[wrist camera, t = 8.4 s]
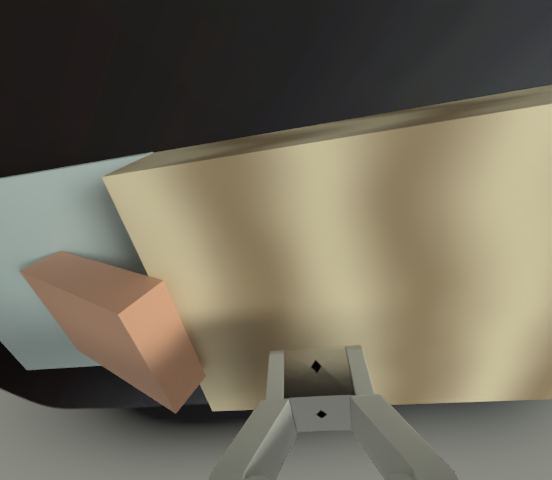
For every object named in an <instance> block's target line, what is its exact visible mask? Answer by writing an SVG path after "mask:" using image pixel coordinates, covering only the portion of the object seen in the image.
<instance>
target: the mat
mask: <svg viewBox="0 0 552 480" xmlns="http://www.w3.org/2000/svg"><path fill="white" fill-rule="evenodd" d="M152 153H153V152H149V153H143V154H138V155H132V156H126V157H120V158H114V159H108V160H103V161H97V162H91V163H85V164H79V165H73V166H67V167H62V168H56V169H50V170H44V171H38V172H32V173H27V174H21V175H15V176H9V177H3V178H0V341H1V342H2V344H3V345H4V346H5V347H6V348H7V349H8V350H9V351H10V352H11V353H12V354H13V356H14V357H15V358H16V359H17V360H18V361H19V362H20V363H21V364H22V365H23V367H24V368H25V369H26V370H38V369H54V368H70V367H86V366H101V365H100V364H98V363H97V362H95V361H94V360H92V359H91V358H89V357H87V356H86V355H84V354H83V353H81V352H80V351H78V350H77V348H76V347H75V346H74V344H73V343H72V342H71V340H70V339H69V338H68V336H67V335H66V334H65V332H64V331H63V329H62V328H61V327H60V325H59V324H58V323H57V321H56V320H55V319H54V317H53V316H52V315H51V313H50V312H49V311H48V309H47V308H46V306H45V305H44V304H43V302H42V301H41V300H40V298H39V297H38V296H37V294H36V293H35V292H34V290H33V289H32V287H31V286H30V285H29V283H28V282H27V281H26V279H25V278H24V277H23V275H22V274H21V273H20V270H22V269H24V268H26V267H28V266H30V265H32V264H34V263H36V262H38V261H40V260H42V259H44V258H46V257H48V256H51V255H53V254H55V253H57V252H59V251H63V252H66V253H70V254H73V255H77V256H80V257H84V258H87V259H91V260H94V261H98V262H101V263H104V264H108V265H111V266H115V267H118V268H122V269H125V270H129V271H132V272H136V273H139V274H142V275H146V276H148V274H147V272H146V270H145V268H144V266H143V263H142V261H141V259H140V257H139V255H138V253H137V251H136V249H135V247H134V244H133V242H132V240H131V238H130V236H129V234H128V232H127V230H126V228H125V225H124V223H123V221H122V219H121V217H120V215H119V213H118V211H117V209H116V206H115V204H114V202H113V200H112V198H111V196H110V194H109V192H108V190H107V187H106V185H105V183H104V181H103V179H102V176H105V175H107V174H109V173H111V172H113V171H115V170H117V169H120V168H122V167H124V166H126V165H128V164H130V163H133V162H135V161H137V160H139V159H141V158H143V157H145V156H148V155H150V154H152Z"/></svg>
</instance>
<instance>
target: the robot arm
mask: <svg viewBox="0 0 552 480" xmlns="http://www.w3.org/2000/svg"><path fill="white" fill-rule="evenodd" d="M323 430H324V431H326V430H328V431H330V430H352V433H353V434H354V436H355V437H356V439H357V440H358V441H359V443H360V444H361V446H362V447H363V449H364V450H365V451H366V453H367V454H368V456H369V457H370V459H371V460H372V462H373V463H374V465H375V466H376V468H377V469H378V470H379V472H380V473H381V475H382V476H383V478H384V479H385V480H458V479H457V476H456V474H455V471H454V470H453V469H452V468H451V467H450V466H449V465H448V464H447V463H446V462H445V461H444V460H443V459H442V458H441V457H440V456H439V455H438V454H437V453H436V452H435V451H434V450H433V449H432V448H431V446H430V445H429V444H428V443H426V441H425V440H424V439H423V438H422V437H421V436H420V435H419V434H418V433H417V432H416V431H415V430H414V429H413V428H412V427H411V426H410V425H409V424H408V423H407V422H406V421H405V420H404V419H403V417H401V415H400V414H398V412H397V411H396V410H395V409H394V408H393V407H392V406H391V405H390V404H389V403H388V402H387V401H386V400H385V399H384V398H383V397H382V396H381V395H380V394H375V392H374V388H373V385H372V381H371V377H370V374H369V370H368V366H367V363H366V359H365V355H364V352H363V348H362V346H361V345H351V346H334V347H322V348H315V349H298V350H277V351H270V354H269V362H268V374H267V387H266V400H261V401H260V402H259V404H258V405H257V407H256V408H255V410H254V411H253V413H252V414H251V415H250V417H249V418H248V420H247V421H246V423H245V424H244V426H243V427H242V429H241V430H240V432H239V433H238V435H237V436H236V437H235V439H234V440H233V442H232V443H231V445H230V446H229V447H228V449H227V451H226V452H225V453H224V455H223V456H222V458H221V459H220V460H219V462H218V463H217V465H216V466H215V468H214V469H213V471H212V472H211V474H210V476H209V480H276V479H277V476H278V474H279V472H280V470H281V468H282V466H283V464H284V461H285V459H286V457H287V455H288V453H289V450H290V448H291V446H292V444H293V442H294V440H295V438H296V435H297V432H309V431H323Z"/></svg>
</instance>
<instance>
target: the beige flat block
mask: <svg viewBox="0 0 552 480" xmlns="http://www.w3.org/2000/svg"><path fill="white" fill-rule="evenodd" d="M102 179H103V181H104V183H105V185H106V187H107V190H108V192H109V194H110V196H111V198H112V200H113V202H114V204H115V206H116V209H117V211H118V213H119V215H120V217H121V219H122V221H123V223H124V225H125V228H126V230H127V232H128V234H129V236H130V238H131V240H132V242H133V244H134V247H135V249H136V251H137V253H138V255H139V257H140V259H141V261H142V263H143V266H144V268H145V270H146V272H147V274H148V276H149V277H153V278H156V279H160V280H163V281H164V283H165V285H166V288H167V290H168V292H169V294H170V297H171V299H172V301H173V303H174V306H175V308H176V310H177V312H178V315H179V317H180V319H181V321H182V324H183V326H184V328H185V330H186V332H187V335H188V337H189V339H190V341H191V344H192V346H193V348H194V350H195V353H196V355H197V357H198V359H199V362H200V364H201V366H202V368H203V371H204V373H205V375H206V377H205V378H204V379H203V380H202V382H201V383H200V386H201V388H202V390H203V392H204V394H205V396H206V398H207V401H208V403H209V405H210V407H211V409H212V411H231V410H255V408H256V407H257V405H258V404H259V402H260V401H261V400H266V387H267V374H268V362H269V354H270V351H277V350H298V349H315V348H322V347H334V346H351V345H361V346H362V348H363V352H364V355H365V359H366V363H367V366H368V370H369V374H370V377H371V381H372V385H373V388H374V392H375V394H380V395H381V396H382V397H383V398H384V399H385V400H386V401H387V402H388V403H389V404H390V405H397V404H426V403H452V402H453V403H454V402H482V401H509V400H535V399H552V85H548V86H542V87H536V88H530V89H524V90H518V91H512V92H507V93H501V94H495V95H489V96H483V97H477V98H471V99H466V100H460V101H454V102H448V103H442V104H436V105H430V106H425V107H419V108H413V109H407V110H401V111H395V112H389V113H384V114H378V115H372V116H366V117H360V118H354V119H348V120H342V121H337V122H331V123H325V124H319V125H313V126H307V127H301V128H296V129H290V130H284V131H278V132H272V133H266V134H260V135H255V136H249V137H243V138H237V139H231V140H225V141H219V142H214V143H208V144H202V145H196V146H190V147H184V148H178V149H173V150H167V151H161V152H155V153H152V154H150V155H148V156H145V157H143V158H141V159H139V160H137V161H135V162H133V163H130V164H128V165H126V166H124V167H122V168H120V169H117V170H115V171H113V172H111V173H109V174H107V175H105V176H102Z"/></svg>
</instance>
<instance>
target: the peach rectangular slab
mask: <svg viewBox="0 0 552 480" xmlns="http://www.w3.org/2000/svg"><path fill="white" fill-rule="evenodd" d="M20 273H21V274H22V275H23V277H24V278H25V279H26V281H27V282H28V283H29V285H30V286H31V287H32V289H33V290H34V292H35V293H36V294H37V296H38V297H39V298H40V300H41V301H42V302H43V304H44V305H45V306H46V308H47V309H48V311H49V312H50V313H51V315H52V316H53V317H54V319H55V320H56V321H57V323H58V324H59V325H60V327H61V328H62V329H63V331H64V332H65V334H66V335H67V336H68V338H69V339H70V340H71V342H72V343H73V344H74V346H75V347H76V348H77V350H78V351H80V352H81V353H83V354H84V355H86V356H87V357H89V358H91V359H92V360H94V361H95V362H97V363H98V364H100V365H101V366H103V367H105V368H106V369H108V370H109V371H111V372H112V373H114V374H115V375H117V376H118V377H120V378H122V379H123V380H125V381H126V382H128V383H129V384H131V385H132V386H134V387H136V388H137V389H139V390H140V391H142V392H143V393H145V394H146V395H148V396H149V397H151V398H153V399H154V400H156V401H157V402H159V403H160V404H162V405H163V406H165V407H167V408H168V409H170V410H171V411H173V412H174V413H176V412H177V411H178V410H179V409H180V408H181V406H182V405H183V404H184V403H185V402H186V400H187V399H188V398H189V397H190V395H191V394H192V393H193V392H194V390H195V389H196V388H197V387H198V385H199V384H200V383H201V382H202V380H203V379H204V378H205V377H206V375H205V373H204V371H203V368H202V366H201V364H200V362H199V359H198V357H197V355H196V353H195V350H194V348H193V346H192V344H191V341H190V339H189V337H188V335H187V332H186V330H185V328H184V326H183V324H182V321H181V319H180V317H179V315H178V312H177V310H176V308H175V306H174V303H173V301H172V299H171V297H170V294H169V292H168V290H167V288H166V285H165V283H164V281H163V280H160V279H156V278H153V277H149V276H146V275H142V274H139V273H136V272H132V271H129V270H125V269H122V268H118V267H115V266H111V265H108V264H104V263H101V262H98V261H94V260H91V259H87V258H84V257H80V256H77V255H73V254H70V253H66V252H63V251H59V252H57V253H55V254H53V255H51V256H48V257H46V258H44V259H42V260H40V261H38V262H36V263H34V264H32V265H30V266H28V267H26V268H24V269H22V270H20Z"/></svg>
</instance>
